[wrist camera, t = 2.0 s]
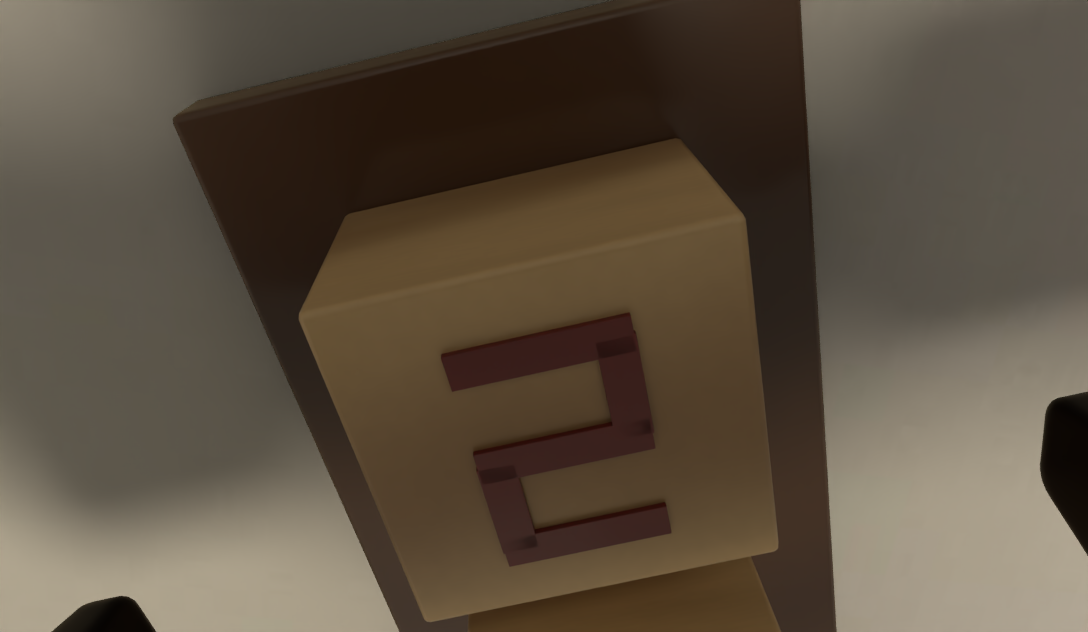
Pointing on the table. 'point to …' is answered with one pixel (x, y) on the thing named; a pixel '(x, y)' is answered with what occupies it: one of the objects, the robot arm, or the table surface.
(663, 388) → the number block
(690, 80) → the strip
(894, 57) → the table surface
